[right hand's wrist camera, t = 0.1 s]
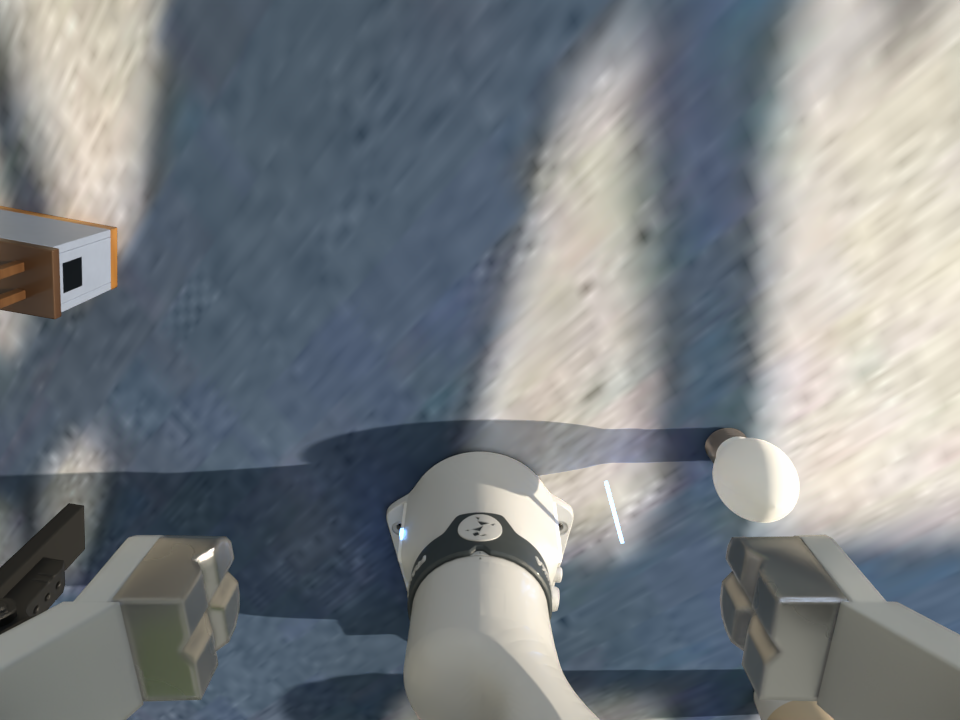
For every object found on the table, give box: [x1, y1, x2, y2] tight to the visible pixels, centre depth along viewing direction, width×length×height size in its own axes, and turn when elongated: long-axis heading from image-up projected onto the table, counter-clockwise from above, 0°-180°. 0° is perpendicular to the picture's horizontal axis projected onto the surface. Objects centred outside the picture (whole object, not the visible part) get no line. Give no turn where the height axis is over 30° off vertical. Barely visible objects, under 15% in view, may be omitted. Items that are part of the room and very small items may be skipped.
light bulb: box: [705, 428, 800, 523], centre depth 58 cm, size 7×7×11 cm
